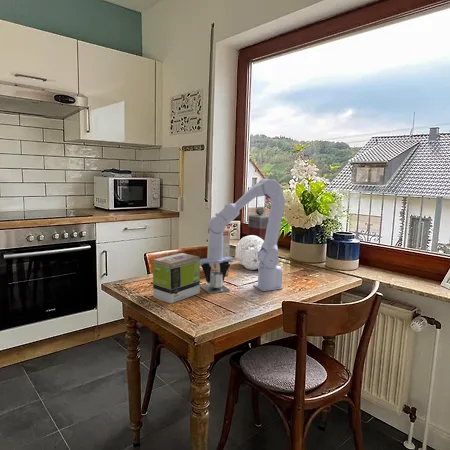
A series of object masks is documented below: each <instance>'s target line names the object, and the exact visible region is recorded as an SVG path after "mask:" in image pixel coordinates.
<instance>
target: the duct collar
mask: <svg viewBox="0 0 450 450" xmlns="http://www.w3.org/2000/svg"><path fill="white" fill-rule="evenodd" d="M223 282H224V281H223V273H222V272H218V271H212V272H210V283H208V282H207V285H208V286H209V287H213V288H218V287H221V286H223V285H224V284H223Z"/></svg>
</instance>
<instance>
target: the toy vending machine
mask: <svg viewBox="0 0 450 450" xmlns="http://www.w3.org/2000/svg"><path fill="white" fill-rule="evenodd" d="M264 211H265V208H264V207H263V206H258V207H256V210H255V212H256V214H250V215H248V220H247V221H248V224H247V225H248V227H247V236H249V235H254V236H258V237H259V238H261V239H263V241H264V240H265V235H266V230H267V224H268V219H269V214H268V215H266V214H264Z"/></svg>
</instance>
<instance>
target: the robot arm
mask: <svg viewBox="0 0 450 450" xmlns="http://www.w3.org/2000/svg"><path fill="white" fill-rule="evenodd" d="M282 189H283V187H282V185H281V184H280V183H279V182H278V181H277V180H276V179H274V178H262V179H260V180H259V181H258V182H256V183H255V184H254V185H252V186H251V187H250V188H249V189H248V190H247V191H246V192H245V193H244V194H243V195H241V196H240V198H238V199H237V200H236V202H234V203H232V202H231V203H228V204H224V206H223V209H221V210H220V211H219V212H217V213H215V214H214V216H213V217H211V218H210V219H209V220H208V223H207V228H208V227H209V228H210V230H209V250H208V249H207V255H208V258H207V257H204V258H200V267H201V268H202V270H203V271H202V272H203V273H204V277H205V282H206V283H207V284H208V283H210V272H211V267H210V265H209V264H215V263H219V264H220V272H222V273H223V282H224V281H225V278H226V276H225V275H226V272H227V270H228V268H229V269H230V266H231V263H233V262H234V257H232V256H229V257H223V231H224V229H226V226H228V225H229V224H230V223H231V222H232V221H234V220H236V218H237V217H238V216H240V212H241V211H240V210H242V209H243V208H244V207H245V206H246V205H247V204H249V203H250V202H251V201H253V200H254V199H255V198H257V197H264V196H265V197H266V199H268V201H269V202H270V203H271V204H270V210H269V214H268V216H269V219H268V224H267V230H266V235H265V240H264V243H263V244H262V246H261V249H260V251H259V252H258V259H259V261H260V263H259V268H258V269H257V270H258V273H257V283H254V284H253V287H255V288H256V289H259V290H260V291H262V292H269V291H274V290H282V289H283V269H282V267H281V266H279V265H278V264H279V255H278V254H279V248H278V241H279V236H280V229H281V225H282V220H283V215H284V209H285V204H286V199H285V196H284V193H283V190H282ZM228 271H229V270H228Z"/></svg>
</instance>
